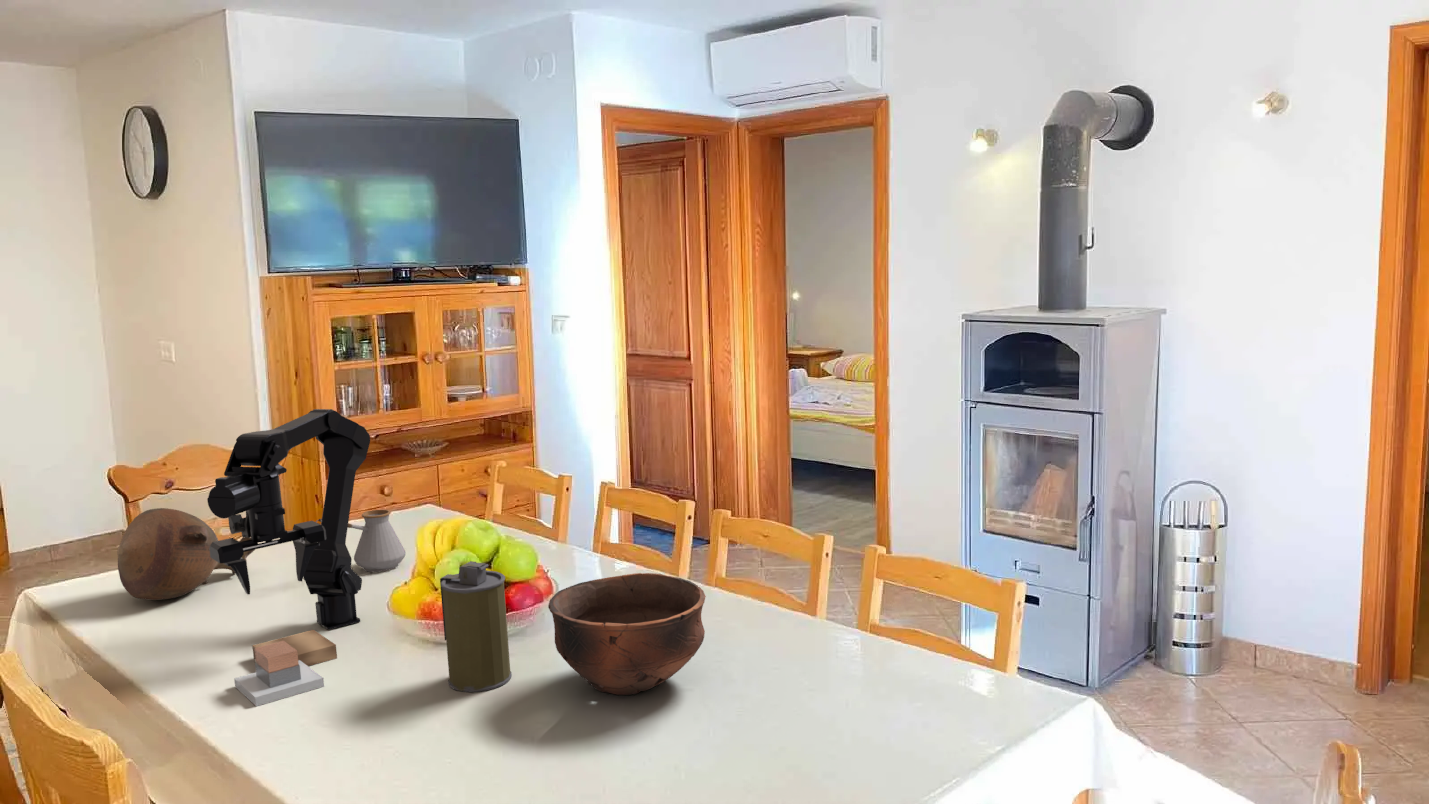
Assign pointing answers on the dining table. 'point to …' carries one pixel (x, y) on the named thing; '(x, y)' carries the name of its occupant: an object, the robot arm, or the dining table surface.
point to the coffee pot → (377, 543)
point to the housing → (277, 664)
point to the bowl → (628, 629)
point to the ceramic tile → (265, 694)
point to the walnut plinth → (308, 647)
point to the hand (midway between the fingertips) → (274, 587)
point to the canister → (475, 628)
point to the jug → (166, 554)
